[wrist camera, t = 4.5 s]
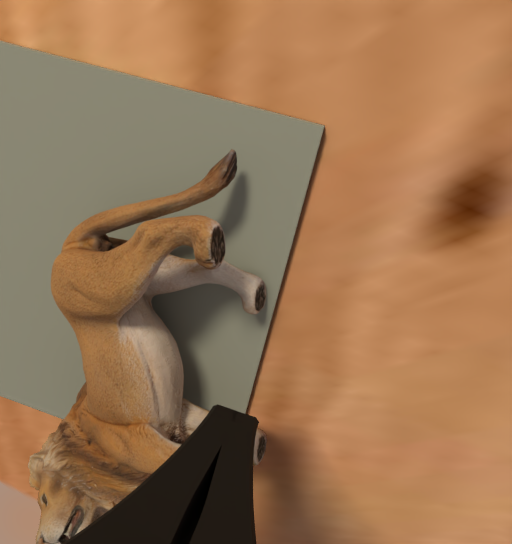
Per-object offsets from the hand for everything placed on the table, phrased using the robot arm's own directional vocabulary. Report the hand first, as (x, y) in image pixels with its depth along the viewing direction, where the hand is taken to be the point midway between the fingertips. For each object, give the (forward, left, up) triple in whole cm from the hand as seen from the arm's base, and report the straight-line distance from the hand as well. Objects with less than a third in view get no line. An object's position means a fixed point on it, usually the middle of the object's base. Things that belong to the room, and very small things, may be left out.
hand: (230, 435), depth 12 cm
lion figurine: (0, 0, -1) cm, 1 cm away
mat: (+6, 0, -5) cm, 8 cm away
